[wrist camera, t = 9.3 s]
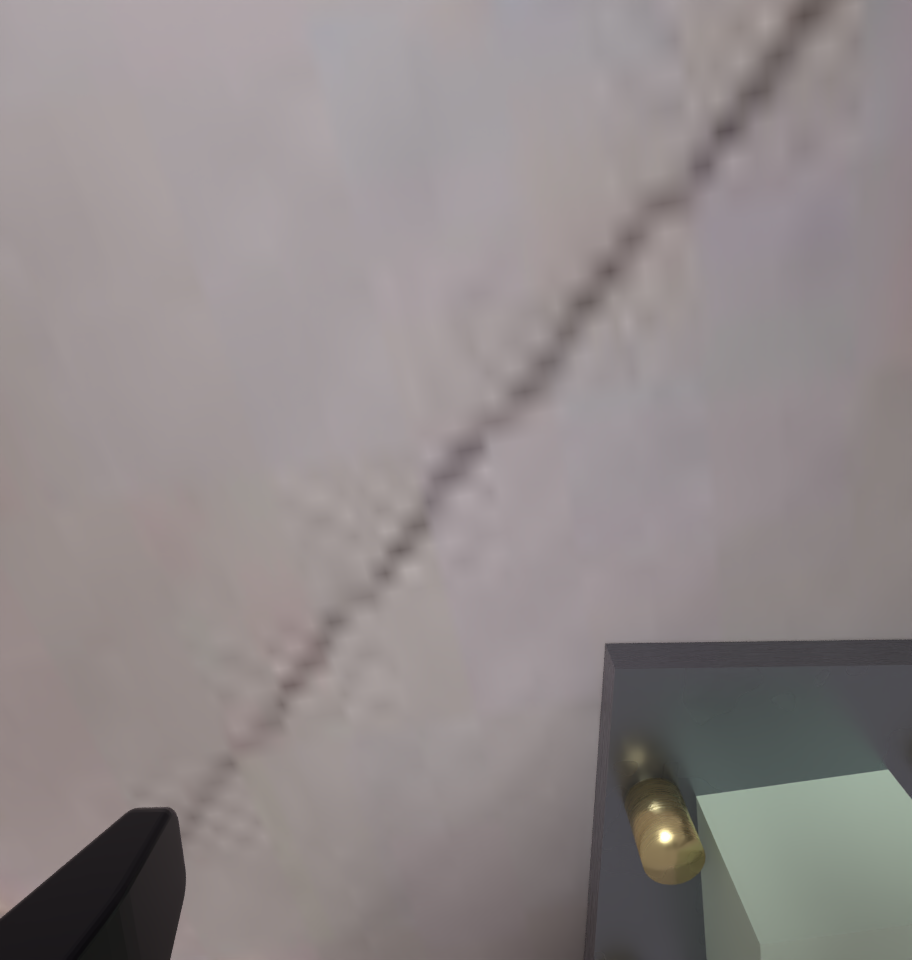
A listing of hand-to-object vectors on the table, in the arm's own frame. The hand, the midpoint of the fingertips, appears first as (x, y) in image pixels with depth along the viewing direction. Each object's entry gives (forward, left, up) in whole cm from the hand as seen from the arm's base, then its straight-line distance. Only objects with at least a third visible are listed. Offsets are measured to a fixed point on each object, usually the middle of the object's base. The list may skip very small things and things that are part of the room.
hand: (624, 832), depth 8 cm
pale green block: (-8, +13, -11) cm, 19 cm away
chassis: (-8, +13, -12) cm, 19 cm away
